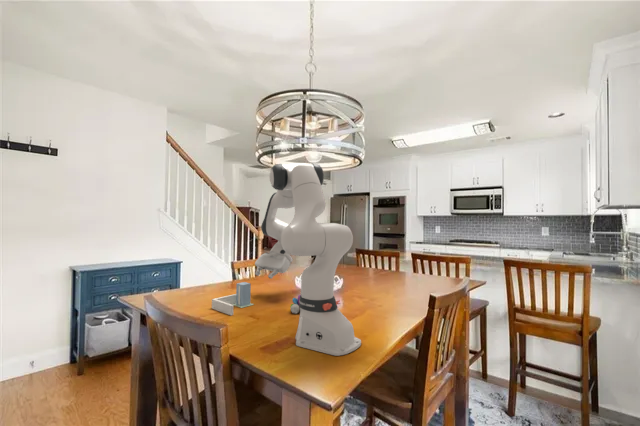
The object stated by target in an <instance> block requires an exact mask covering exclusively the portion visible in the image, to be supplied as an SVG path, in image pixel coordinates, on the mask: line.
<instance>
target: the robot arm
mask: <svg viewBox="0 0 640 426" xmlns="http://www.w3.org/2000/svg"><path fill="white" fill-rule="evenodd" d="M268 176H269V181H270V184H271V187H272V189H274V190H276V191H277V192H273V194H272V195H271V196H270V198H269V200H268V204H267V208H266V211H265V213H264V214H265V215H264V218H263V220H262V223H261V227H260V228H261V232H262V234H263V235H264V236H267V237H271V238H273V239H275V240H277V242H276V243H275V244H274V245H273V246H272V248H271V249H270V251H269V252H265V253H262V254H261V255H260V256H259V257H258V258H257V259H256V260H255V262H254V265H255V266H256V271H255V275H256V276H260V275H261V274H262V273H261V271H262V270H265V271H271V273H269V274H268V276H267V277H268V278H269V279H271V280H272V279H273V278H274V277H275V276H276V275H277V274H279V273H280V274H284V273H285V272H287V271H288V269H289V267H290V266H291V263H292V262H293V261H294V259H293V257H292V256H295V257H296V256H297V257H310V256H311V257H312V256H313V257H314V256H315V259H314V261H313V263H311V264H310V265H309V266H308V267H306V268H305V269H304V270H303V271H302V273H301V277H300V279H301V280H300V281H301V282H300V284H301V285H300V294H299V295H300V300H299V306H300V311H299V318H298V325H297V330H296V334H295V337H294V338H295V345H296V346H297V347H300V348H304V349H308V350H312V351H316V352H320V353H322V354H323V353H324V354H327V355H331V356H335V357H336V356H338V357H340V356H344V355H348V354H349V353H353V352H354V351H356V350H357V349H358V348H360V347H361V345H362V340H361V339H360V338H358V337H357V336H355V330H354V326H353V324H352V322H351V321H350V320H349V319H348V318H347V317H346V316H345V315H344V314H343V313H342V311H341V310H339V307H338V305H340V304H341V303H340V301H341V300H336V297H335V294H334V290H335V289H334V287H335V275H336V271H337V268H338V265H339V263H340V262H341V260H342V258H343V256H344V255H345V254H347V252H349V251H350V249H351V248H352V246H353V242H354V236H353V231H352V230H351V228H350V227H349V226H348V225H346V224H345V225H344V224H343V223H342V224H341V223H337V222H317V220H316V218H318V217H319V216H321V214H323V213H324V212H325V209H326V206H327V205H326V204H327V202H326V199H325V196H324V191H323V188H322V185H323V184H324V179H325V178H324V177H325V175H324V169H323V168H322V166H321V165H320V164H319V163H313V162H312V163H304V162H303V163H302V162H299V163H298V162H290V163H284V164H283V163H277V164H274V165H273V166H272V167H271V169H270V172H269V175H268ZM292 208H294V216H293V218H292V220H291V222H290V223H289V222H285V221H283V220H281V219H279V218H278V217H277V216H276V214H277V211H278V209H292ZM291 255H292V256H291Z"/></svg>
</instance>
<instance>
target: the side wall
mask: <svg viewBox="0 0 640 426" xmlns="http://www.w3.org/2000/svg"><path fill="white" fill-rule="evenodd" d="M213 299H214V300H213V310H214V311H218V312H220V313H223V314H225V315H229V316H234V307H235V306H234V305H232V304H229V303H226V302H223V301H220V300H217V299H215V298H213Z"/></svg>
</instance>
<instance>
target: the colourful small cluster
mask: <svg viewBox="0 0 640 426" xmlns="http://www.w3.org/2000/svg"><path fill="white" fill-rule="evenodd" d="M300 295H301V294H298V296H297V298H296V297H293V298H292V303H291V304H290V306H289V307H290V312H291V313H292V314H295V315H296V314H300V306H299V300H300Z"/></svg>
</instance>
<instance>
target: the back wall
mask: <svg viewBox="0 0 640 426" xmlns="http://www.w3.org/2000/svg"><path fill="white" fill-rule="evenodd" d="M214 299H217V300H220V301H223V302H226V303H229V304H236V293H235V294H231V295H230V294H229V295H225V296H224V295H223V296H221V297H216V298H212V299H211V309H213V300H214ZM213 310H214V309H213Z"/></svg>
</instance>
